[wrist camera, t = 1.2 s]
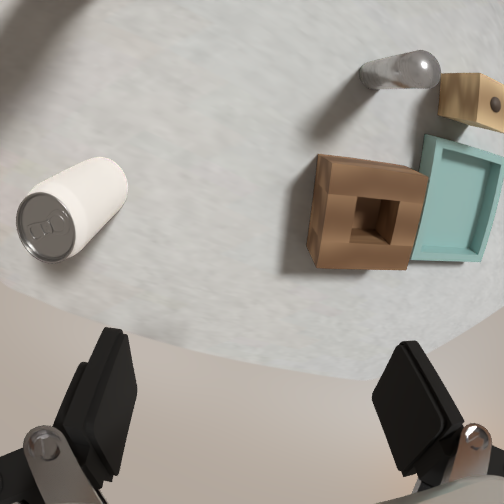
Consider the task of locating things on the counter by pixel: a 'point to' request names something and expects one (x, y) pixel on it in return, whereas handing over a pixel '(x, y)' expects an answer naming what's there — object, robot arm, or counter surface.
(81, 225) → the can
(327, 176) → the bore block
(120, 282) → the counter surface
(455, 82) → the oak block
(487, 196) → the tray
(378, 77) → the cylinder
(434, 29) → the counter surface
